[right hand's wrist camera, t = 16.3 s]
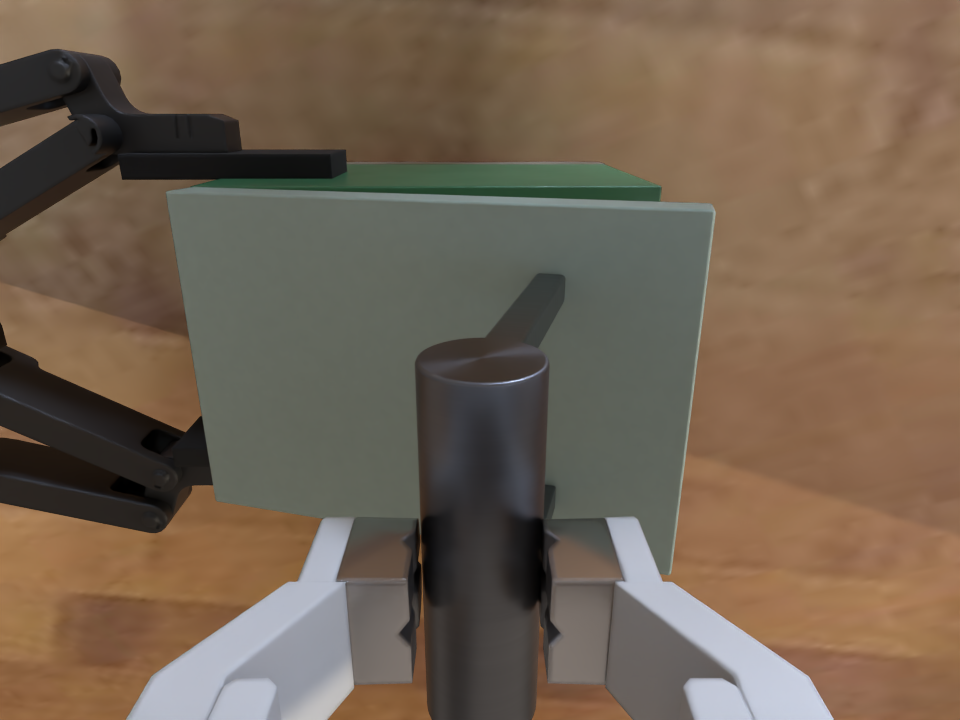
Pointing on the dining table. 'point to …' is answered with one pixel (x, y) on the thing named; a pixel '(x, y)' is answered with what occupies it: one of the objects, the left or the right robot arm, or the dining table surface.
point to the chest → (472, 180)
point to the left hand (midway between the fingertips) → (349, 311)
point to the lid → (449, 385)
